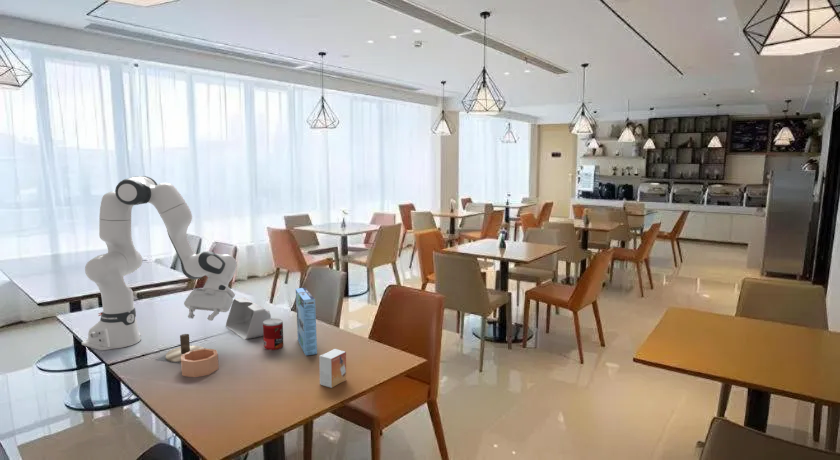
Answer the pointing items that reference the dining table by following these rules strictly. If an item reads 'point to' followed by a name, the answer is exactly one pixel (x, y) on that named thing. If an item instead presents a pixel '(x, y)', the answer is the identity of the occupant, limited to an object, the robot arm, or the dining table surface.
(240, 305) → the grey open bin
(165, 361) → the mat
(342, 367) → the small box
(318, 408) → the dining table surface
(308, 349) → the blue cereal box
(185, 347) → the lid
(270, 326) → the canned food
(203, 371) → the bowl
